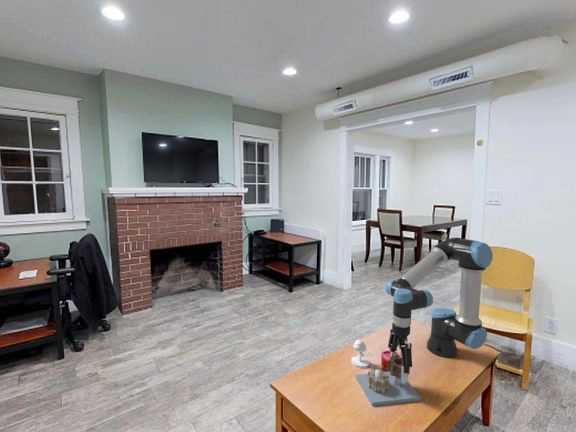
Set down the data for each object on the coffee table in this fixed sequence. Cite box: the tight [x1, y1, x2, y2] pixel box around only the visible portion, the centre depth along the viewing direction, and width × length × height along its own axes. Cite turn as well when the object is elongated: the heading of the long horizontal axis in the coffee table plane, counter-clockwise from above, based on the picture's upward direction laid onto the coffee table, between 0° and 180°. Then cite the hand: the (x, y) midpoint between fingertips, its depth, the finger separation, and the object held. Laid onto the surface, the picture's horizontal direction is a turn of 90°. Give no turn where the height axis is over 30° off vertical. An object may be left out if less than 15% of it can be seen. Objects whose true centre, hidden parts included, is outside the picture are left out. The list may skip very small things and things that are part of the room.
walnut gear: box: [387, 355, 411, 379], centre depth 132 cm, size 9×9×5 cm
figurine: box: [351, 339, 370, 369], centre depth 151 cm, size 9×9×12 cm
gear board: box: [355, 369, 422, 407], centre depth 132 cm, size 22×18×8 cm
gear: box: [367, 368, 389, 394], centre depth 132 cm, size 9×9×5 cm
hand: (398, 371), depth 133 cm, fingers closed on walnut gear, 9 cm apart
